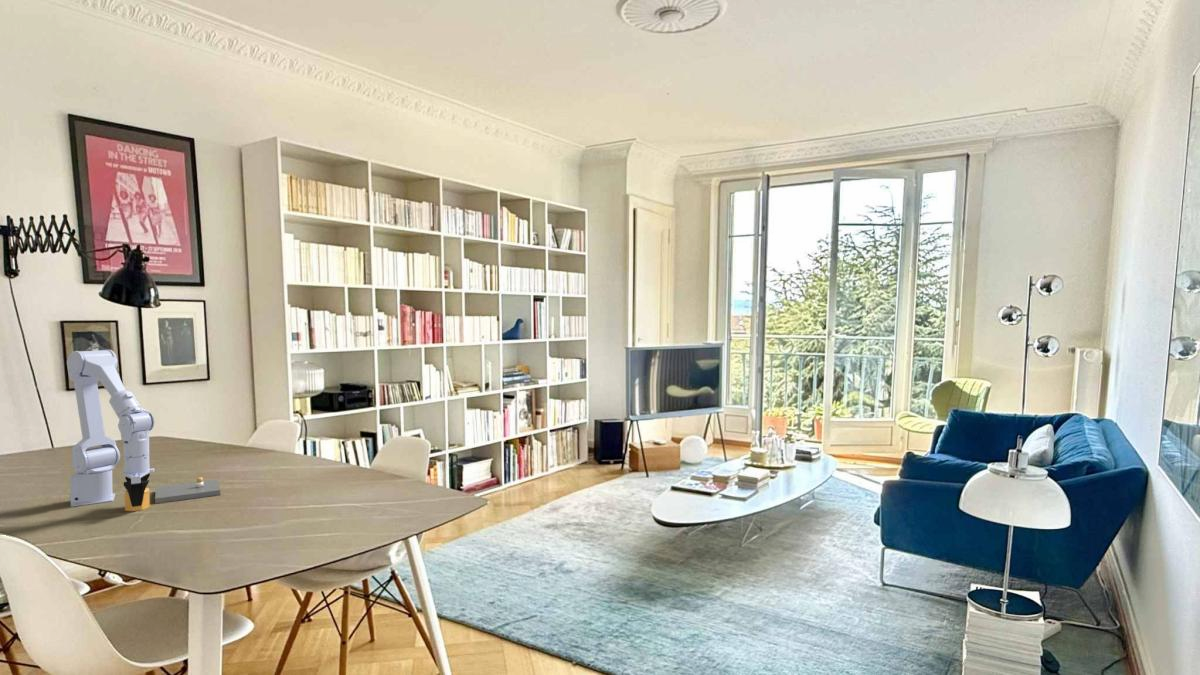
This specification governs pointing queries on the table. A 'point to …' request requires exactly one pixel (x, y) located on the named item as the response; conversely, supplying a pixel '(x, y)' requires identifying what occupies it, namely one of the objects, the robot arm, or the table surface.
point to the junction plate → (187, 491)
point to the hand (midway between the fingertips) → (137, 503)
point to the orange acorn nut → (144, 505)
